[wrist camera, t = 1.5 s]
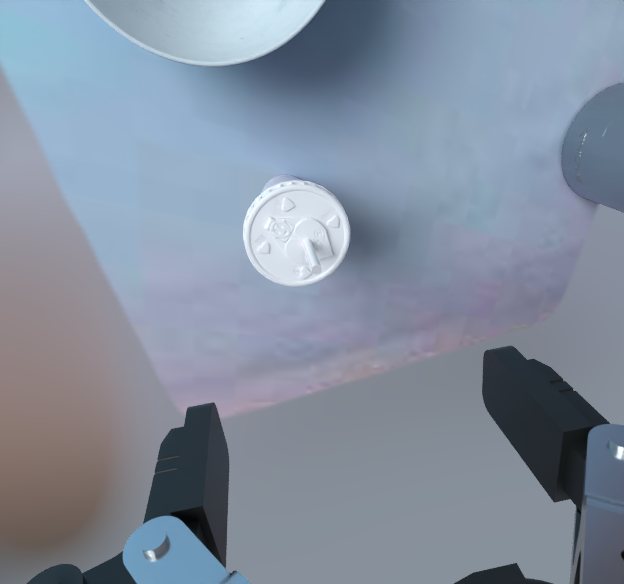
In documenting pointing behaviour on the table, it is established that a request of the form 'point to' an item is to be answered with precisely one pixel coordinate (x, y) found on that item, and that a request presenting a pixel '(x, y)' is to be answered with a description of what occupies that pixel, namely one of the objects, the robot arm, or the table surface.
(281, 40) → the chinaware
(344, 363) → the table surface
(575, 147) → the robot arm
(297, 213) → the smoothie
